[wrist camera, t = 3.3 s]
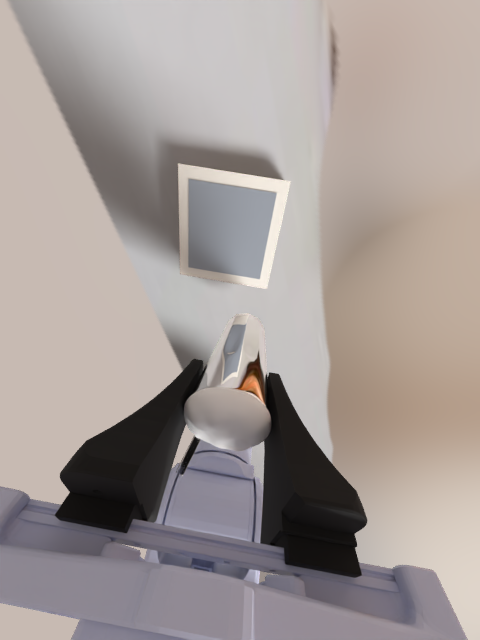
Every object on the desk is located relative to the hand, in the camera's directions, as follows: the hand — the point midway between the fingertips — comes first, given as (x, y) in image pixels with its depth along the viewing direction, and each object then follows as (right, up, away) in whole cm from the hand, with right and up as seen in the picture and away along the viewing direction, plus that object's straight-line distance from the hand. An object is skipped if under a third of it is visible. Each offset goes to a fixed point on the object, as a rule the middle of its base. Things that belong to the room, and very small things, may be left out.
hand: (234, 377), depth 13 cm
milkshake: (+1, +3, +4) cm, 5 cm away
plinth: (0, +12, +5) cm, 13 cm away
